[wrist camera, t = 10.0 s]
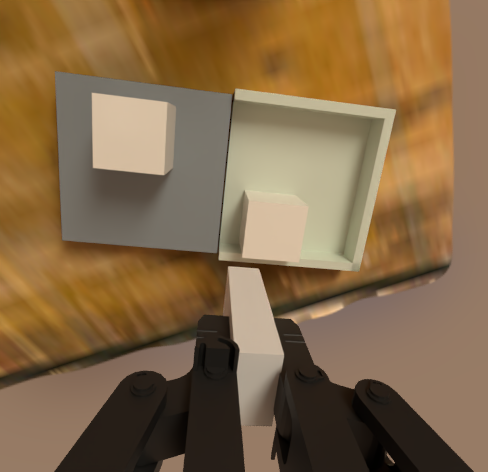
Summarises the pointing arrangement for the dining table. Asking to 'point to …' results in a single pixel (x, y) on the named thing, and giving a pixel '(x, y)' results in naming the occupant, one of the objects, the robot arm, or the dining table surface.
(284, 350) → the robot arm
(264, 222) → the block
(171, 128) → the block
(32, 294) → the dining table surface
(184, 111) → the board
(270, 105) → the tray
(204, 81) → the dining table surface
